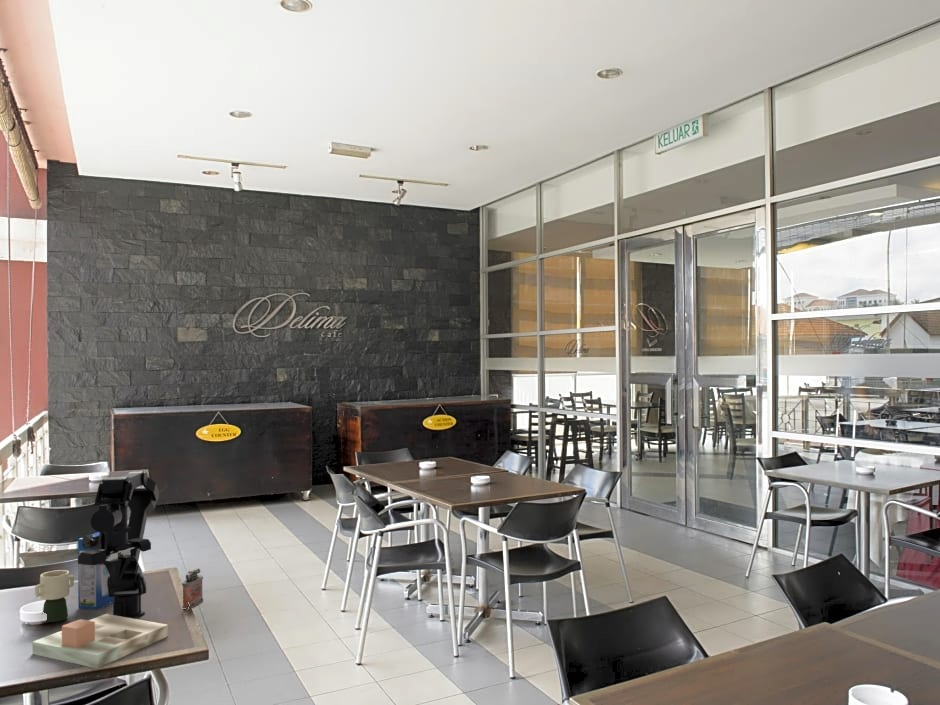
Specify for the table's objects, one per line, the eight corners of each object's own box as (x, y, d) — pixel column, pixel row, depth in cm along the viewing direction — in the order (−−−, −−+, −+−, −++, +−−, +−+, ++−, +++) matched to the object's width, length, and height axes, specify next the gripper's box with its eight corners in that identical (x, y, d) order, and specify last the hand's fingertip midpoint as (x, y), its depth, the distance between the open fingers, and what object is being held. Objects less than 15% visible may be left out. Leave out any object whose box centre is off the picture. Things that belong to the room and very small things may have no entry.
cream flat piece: (106, 624, 197) (106, 613, 197) (167, 636, 188) (167, 624, 188) (32, 654, 177) (32, 641, 177) (97, 668, 169) (97, 655, 169)
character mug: (65, 612, 207) (65, 566, 207) (81, 616, 204) (81, 569, 204) (27, 625, 197) (27, 577, 197) (43, 629, 194) (43, 580, 194)
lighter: (190, 610, 208) (189, 575, 208) (179, 609, 208) (179, 574, 208) (205, 601, 216) (205, 567, 216) (195, 600, 216) (195, 566, 216)
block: (80, 637, 180) (80, 619, 180) (94, 640, 178) (94, 621, 178) (62, 644, 175) (61, 626, 175) (76, 647, 173) (76, 628, 173)
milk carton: (97, 609, 209) (97, 539, 209) (78, 608, 210) (77, 539, 210) (120, 598, 219) (119, 531, 219) (101, 597, 220) (100, 531, 220)
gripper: (122, 516, 206) (122, 572, 205) (62, 529, 188) (62, 590, 188) (152, 518, 201) (152, 575, 201) (93, 532, 184) (93, 595, 184)
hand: (115, 583), depth 193 cm, fingers closed
